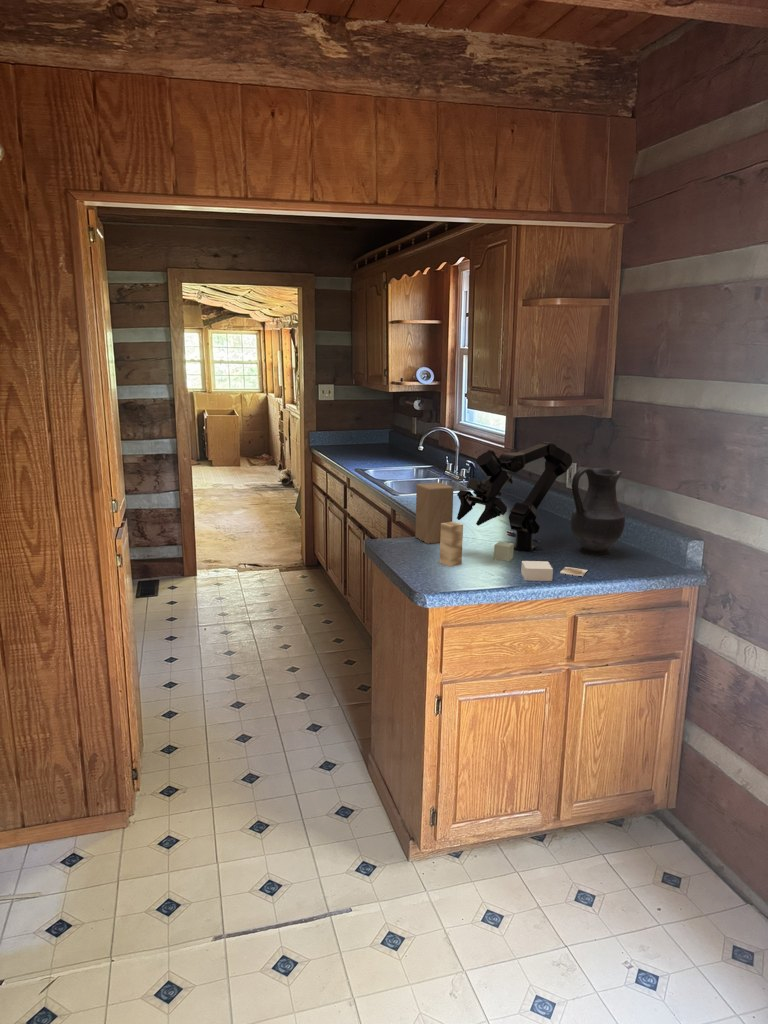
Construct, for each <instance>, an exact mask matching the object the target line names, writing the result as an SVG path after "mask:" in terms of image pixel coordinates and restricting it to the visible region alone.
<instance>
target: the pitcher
mask: <svg viewBox="0 0 768 1024" xmlns="http://www.w3.org/2000/svg"><path fill="white" fill-rule="evenodd" d="M584 474H586V476H587V482H588V488H587V491H586V492H585V495H584V496H583V499H582V498H581V494H580V490H579V485H580V484H579V483H580V479H581V477H582V476H583V475H584ZM622 474H623V473H622V471H621V470H614V469H611V468H606V467H598V468H597V467H594V468H592V467H587V466H586V467H585V466H584V467H581V468H579V469H578V470H577V471H575V473H574V475H573V477H572V480H571V492H572V498H573V501H574V505H575V508H574V509H573V510H572V512H571V517H570V528H571V532H572V534H573V537H574V538H575V540H576V541H577V542H578V543H579V545H581V548H580V549H579V552H580V553H581V554H582V553H583V555H585V554H587V555H586V556H588V555H593V556H592V557H597V556H602V557H607V556H609V555H610V553H611V552H610V551H609V548H610V547H611V546H613V545H614V544H615V543H616V542H617V541H618V540H620V538H621V537H622V534H623V532H624V530H625V523H626V516H625V514H624V513H623V512H622V511H621V508H620V507H619V503H618V498H617V483H618V480H619V479H620V476H621V475H622ZM606 555H607V556H606Z"/></svg>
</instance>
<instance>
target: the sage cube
mask: <svg viewBox="0 0 768 1024" xmlns="http://www.w3.org/2000/svg"><path fill="white" fill-rule="evenodd" d="M514 545H515V543H514V542H513V543H511V542H505V541H498V542H496V543H495V544H494V546H493V560H494V559H496V561H501V562H510V561H511V560H513V558H514V550H515V549H514Z"/></svg>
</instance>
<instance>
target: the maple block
mask: <svg viewBox="0 0 768 1024" xmlns="http://www.w3.org/2000/svg"><path fill="white" fill-rule="evenodd" d="M463 537H464V524H462V523H460V522H456V521H452V522H447V523H441V535H440V543H439V545H440V546H439V563H440V564H442V565H444V566H448V567H454V566H459V565H462V564H463V540H464V539H463Z"/></svg>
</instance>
